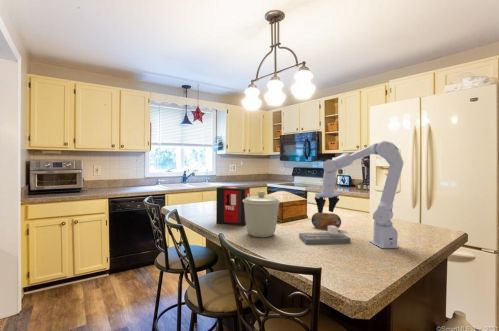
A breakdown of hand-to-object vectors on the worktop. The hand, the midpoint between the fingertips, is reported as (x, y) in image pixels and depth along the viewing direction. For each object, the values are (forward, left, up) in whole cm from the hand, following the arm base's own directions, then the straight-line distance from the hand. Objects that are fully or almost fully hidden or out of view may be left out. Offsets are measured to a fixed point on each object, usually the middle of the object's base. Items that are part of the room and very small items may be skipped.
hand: (325, 212), depth 130 cm
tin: (+9, -4, -11) cm, 15 cm away
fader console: (-10, +5, -11) cm, 15 cm away
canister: (+1, +32, -11) cm, 33 cm away
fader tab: (-10, +1, -8) cm, 13 cm away
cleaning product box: (+25, +44, -11) cm, 52 cm away
